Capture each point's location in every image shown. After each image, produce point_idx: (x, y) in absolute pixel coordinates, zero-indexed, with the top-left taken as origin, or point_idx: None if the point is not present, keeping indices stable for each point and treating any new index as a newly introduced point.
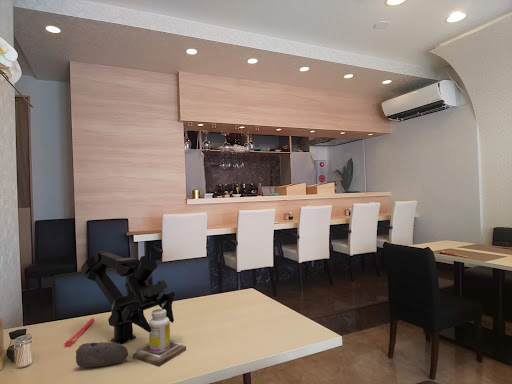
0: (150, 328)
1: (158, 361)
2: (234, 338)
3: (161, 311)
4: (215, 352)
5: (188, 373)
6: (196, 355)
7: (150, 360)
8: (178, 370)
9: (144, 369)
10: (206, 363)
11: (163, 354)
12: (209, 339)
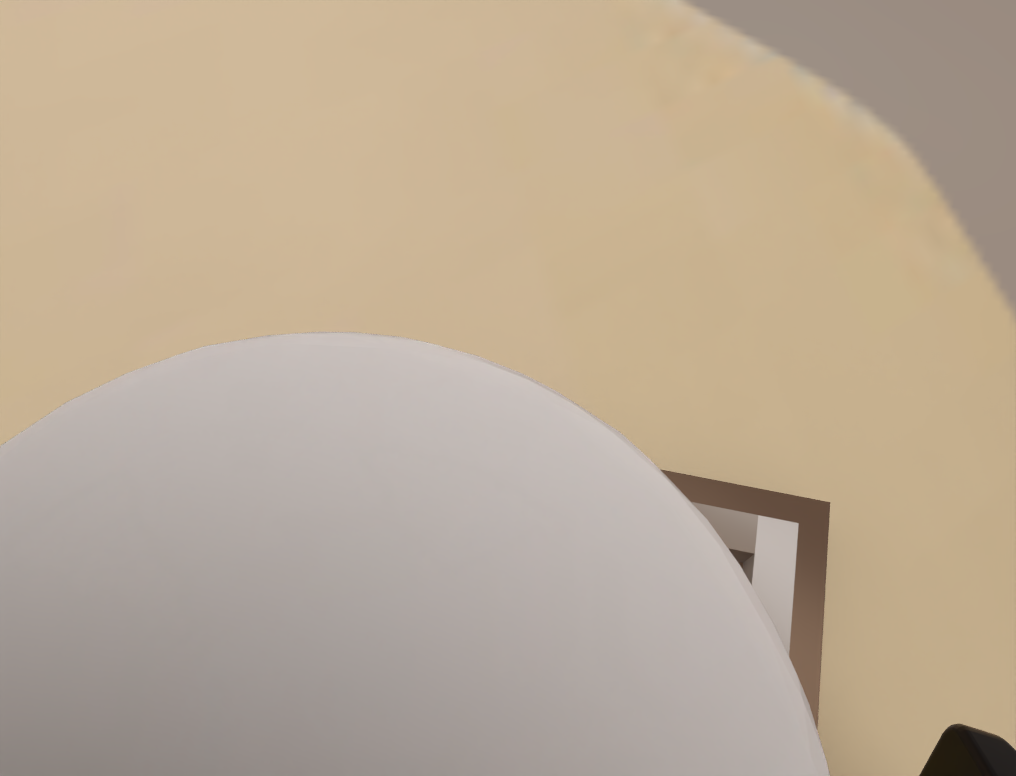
0: (999, 764)
1: (810, 530)
2: (7, 68)
3: (283, 587)
4: (338, 107)
5: (797, 151)
6: (438, 244)
7: (817, 686)
8: (790, 261)
9: (960, 675)
10: (570, 92)
11: (703, 510)
12: (20, 288)
